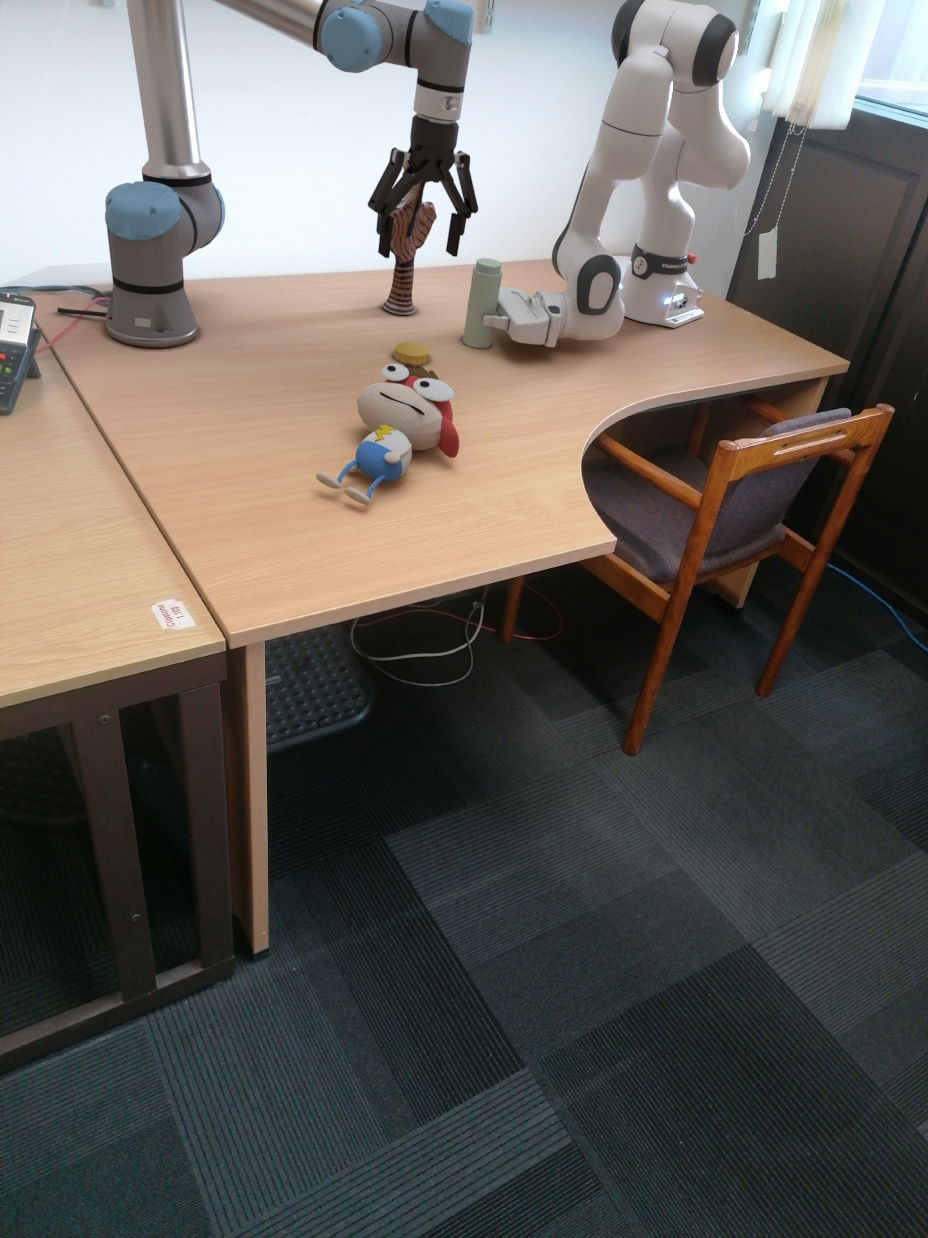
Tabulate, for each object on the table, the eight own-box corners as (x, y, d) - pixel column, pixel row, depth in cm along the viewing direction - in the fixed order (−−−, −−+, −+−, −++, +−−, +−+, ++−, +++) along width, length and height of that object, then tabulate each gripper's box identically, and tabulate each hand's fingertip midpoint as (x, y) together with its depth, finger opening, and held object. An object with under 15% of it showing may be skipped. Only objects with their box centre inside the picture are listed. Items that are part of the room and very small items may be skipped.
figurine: (408, 296, 190) (424, 141, 171) (437, 307, 187) (456, 151, 168) (363, 310, 180) (375, 147, 161) (392, 322, 177) (407, 158, 158)
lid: (435, 361, 166) (436, 352, 165) (409, 367, 162) (410, 358, 161) (412, 348, 169) (413, 339, 168) (386, 354, 165) (387, 345, 164)
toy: (278, 428, 121) (396, 343, 140) (277, 485, 128) (389, 398, 148) (391, 486, 117) (497, 391, 136) (384, 542, 124) (485, 444, 143)
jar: (457, 337, 176) (469, 257, 167) (481, 335, 179) (494, 256, 169) (471, 349, 173) (483, 267, 163) (495, 347, 175) (509, 266, 166)
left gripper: (377, 119, 132) (363, 263, 145) (513, 128, 145) (489, 260, 158) (355, 106, 137) (343, 247, 150) (488, 116, 149) (467, 245, 162)
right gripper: (531, 279, 181) (466, 275, 177) (563, 318, 166) (493, 315, 162) (525, 310, 185) (462, 306, 181) (556, 351, 170) (487, 348, 166)
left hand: (418, 254), depth 154 cm, fingers open, 13 cm apart
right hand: (477, 311), depth 172 cm, fingers open, 7 cm apart
